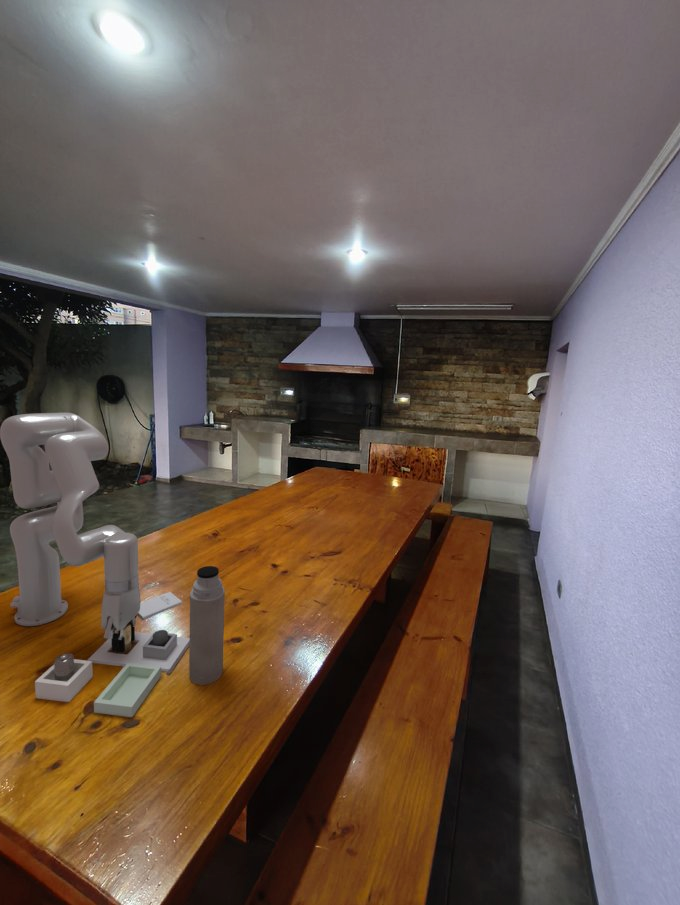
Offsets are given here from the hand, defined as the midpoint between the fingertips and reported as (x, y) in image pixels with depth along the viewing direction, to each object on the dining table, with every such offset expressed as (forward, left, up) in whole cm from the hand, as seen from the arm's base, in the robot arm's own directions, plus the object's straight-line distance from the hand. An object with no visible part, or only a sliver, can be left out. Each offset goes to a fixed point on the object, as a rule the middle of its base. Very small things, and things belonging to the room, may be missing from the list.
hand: (123, 644), depth 103 cm
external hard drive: (-2, +21, -3) cm, 21 cm away
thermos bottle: (+24, -4, -2) cm, 24 cm away
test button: (+10, 0, 0) cm, 10 cm away
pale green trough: (+10, -14, -2) cm, 17 cm away
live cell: (0, 0, -2) cm, 2 cm away
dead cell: (-5, -14, -1) cm, 15 cm away
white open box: (-5, -14, -2) cm, 15 cm away
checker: (+5, 0, -2) cm, 5 cm away
